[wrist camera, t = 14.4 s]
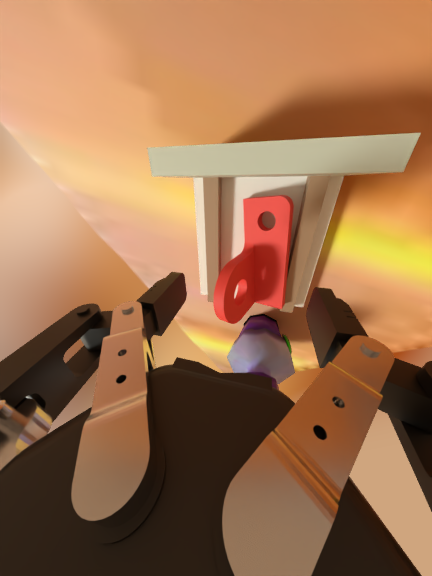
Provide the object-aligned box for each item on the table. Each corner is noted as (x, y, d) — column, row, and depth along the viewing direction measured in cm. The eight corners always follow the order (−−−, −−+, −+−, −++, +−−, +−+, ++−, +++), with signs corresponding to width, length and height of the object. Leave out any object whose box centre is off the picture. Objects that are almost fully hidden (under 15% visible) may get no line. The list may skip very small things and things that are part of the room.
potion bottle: (301, 335, 27) (321, 424, 17) (255, 352, 32) (250, 431, 22) (268, 296, 25) (270, 372, 15) (224, 320, 29) (202, 391, 19)
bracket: (284, 304, 22) (258, 349, 16) (250, 295, 24) (217, 332, 19) (294, 193, 16) (258, 207, 10) (248, 197, 18) (199, 210, 13)
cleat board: (344, 156, 16) (421, 132, 8) (301, 300, 24) (318, 358, 16) (197, 161, 19) (147, 147, 11) (203, 289, 27) (178, 333, 19)
